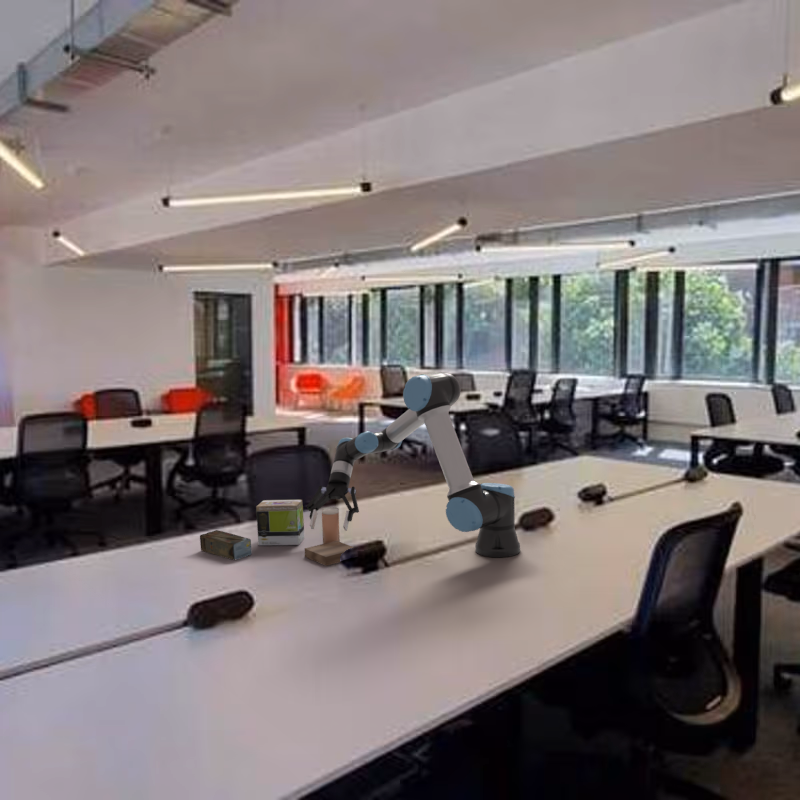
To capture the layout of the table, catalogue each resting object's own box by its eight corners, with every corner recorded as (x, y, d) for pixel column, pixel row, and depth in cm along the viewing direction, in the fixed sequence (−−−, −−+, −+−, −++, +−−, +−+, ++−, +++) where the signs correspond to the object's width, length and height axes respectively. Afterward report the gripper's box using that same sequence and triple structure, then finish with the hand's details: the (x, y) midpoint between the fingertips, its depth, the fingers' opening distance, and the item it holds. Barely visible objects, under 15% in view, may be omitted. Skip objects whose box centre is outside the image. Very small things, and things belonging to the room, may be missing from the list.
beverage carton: (234, 561, 262) (233, 542, 262) (199, 551, 274) (198, 533, 274) (252, 555, 268) (251, 536, 268) (217, 546, 281) (216, 528, 280)
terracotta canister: (343, 544, 277) (341, 509, 275) (329, 548, 273) (327, 512, 272) (333, 541, 281) (332, 506, 280) (319, 544, 278) (318, 509, 276)
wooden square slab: (358, 557, 262) (358, 548, 262) (326, 565, 254) (325, 556, 254) (336, 549, 272) (336, 540, 272) (304, 556, 264) (304, 548, 264)
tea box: (304, 538, 287) (303, 498, 286) (298, 546, 277) (297, 505, 276) (265, 538, 289) (263, 498, 287) (257, 546, 279) (255, 505, 277)
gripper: (374, 482, 287) (363, 534, 274) (312, 481, 293) (299, 531, 280) (369, 471, 281) (358, 523, 268) (307, 469, 287) (293, 521, 274)
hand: (328, 528), depth 274 cm, fingers open, 12 cm apart
